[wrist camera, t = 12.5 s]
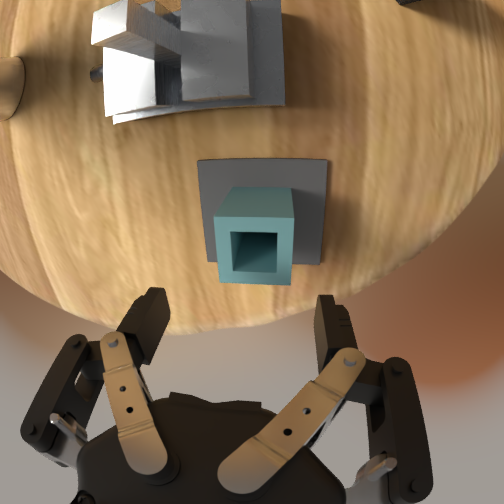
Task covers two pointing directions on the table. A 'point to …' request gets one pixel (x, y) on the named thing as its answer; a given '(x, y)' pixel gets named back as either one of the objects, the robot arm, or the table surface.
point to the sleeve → (255, 236)
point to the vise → (189, 56)
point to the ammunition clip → (406, 1)
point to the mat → (269, 175)
